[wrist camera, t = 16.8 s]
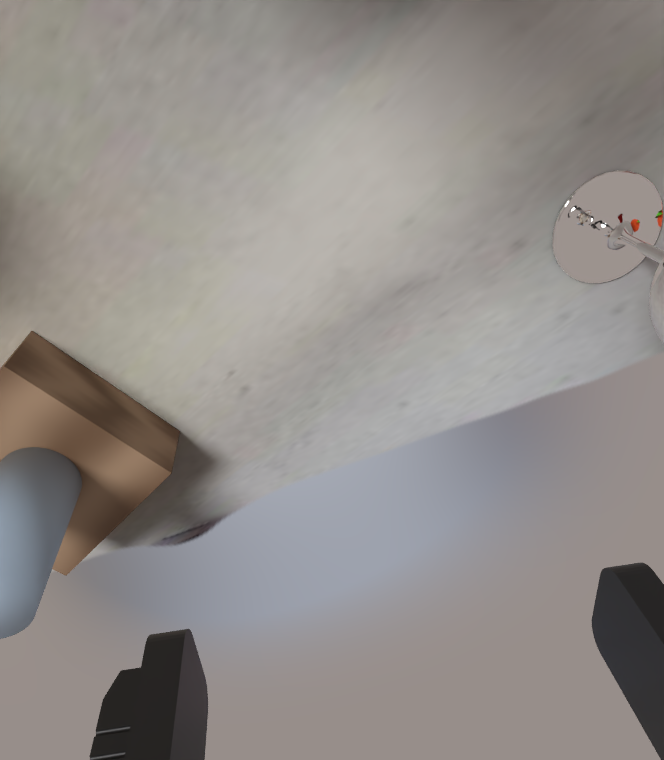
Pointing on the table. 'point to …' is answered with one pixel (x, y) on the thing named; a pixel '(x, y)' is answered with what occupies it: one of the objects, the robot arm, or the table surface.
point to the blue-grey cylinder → (31, 528)
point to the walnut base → (84, 439)
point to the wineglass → (612, 233)
